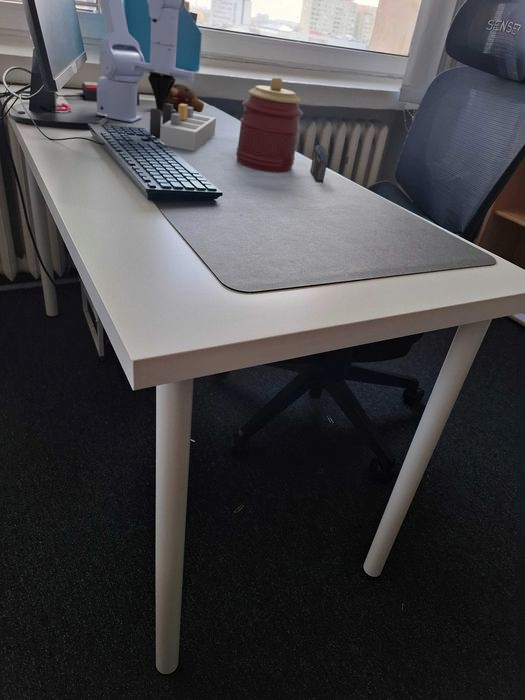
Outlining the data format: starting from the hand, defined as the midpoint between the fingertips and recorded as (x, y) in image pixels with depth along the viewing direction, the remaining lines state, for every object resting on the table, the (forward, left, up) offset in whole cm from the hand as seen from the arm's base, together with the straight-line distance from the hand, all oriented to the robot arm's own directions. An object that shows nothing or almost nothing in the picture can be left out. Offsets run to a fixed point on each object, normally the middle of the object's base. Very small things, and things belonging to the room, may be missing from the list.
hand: (160, 110), depth 121 cm
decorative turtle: (-4, +30, -6) cm, 31 cm away
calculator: (-25, +32, -6) cm, 41 cm away
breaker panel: (+7, 0, -5) cm, 9 cm away
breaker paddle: (+5, 0, -1) cm, 5 cm away
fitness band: (-28, +4, -6) cm, 29 cm away
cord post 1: (0, -5, -5) cm, 7 cm away
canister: (+27, -11, -6) cm, 30 cm away
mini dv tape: (+39, -13, -6) cm, 42 cm away
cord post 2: (0, +5, -5) cm, 7 cm away
